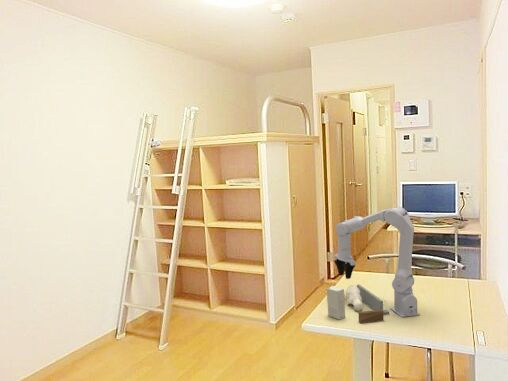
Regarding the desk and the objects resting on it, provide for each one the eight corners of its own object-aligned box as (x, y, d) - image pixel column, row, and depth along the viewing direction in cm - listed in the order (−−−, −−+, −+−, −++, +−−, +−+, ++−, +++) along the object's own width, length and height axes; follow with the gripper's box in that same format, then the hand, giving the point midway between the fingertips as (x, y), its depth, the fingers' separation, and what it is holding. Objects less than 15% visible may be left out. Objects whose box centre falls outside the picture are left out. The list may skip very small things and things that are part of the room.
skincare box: (345, 317, 165) (345, 288, 164) (338, 320, 162) (338, 291, 161) (333, 312, 170) (333, 285, 169) (326, 315, 167) (326, 287, 166)
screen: (389, 314, 166) (389, 300, 166) (380, 315, 165) (379, 301, 165) (365, 296, 188) (365, 283, 187) (356, 297, 187) (356, 284, 186)
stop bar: (383, 320, 160) (383, 310, 160) (360, 323, 158) (360, 313, 158) (381, 318, 162) (381, 309, 161) (358, 321, 160) (358, 312, 160)
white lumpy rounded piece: (358, 283, 180) (367, 295, 168) (358, 300, 182) (366, 313, 170) (344, 284, 180) (352, 295, 168) (344, 301, 181) (352, 314, 170)
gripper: (360, 250, 178) (361, 279, 179) (343, 243, 192) (343, 271, 193) (347, 252, 176) (347, 282, 177) (330, 245, 189) (330, 273, 191)
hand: (344, 276), depth 185 cm, fingers open, 5 cm apart
